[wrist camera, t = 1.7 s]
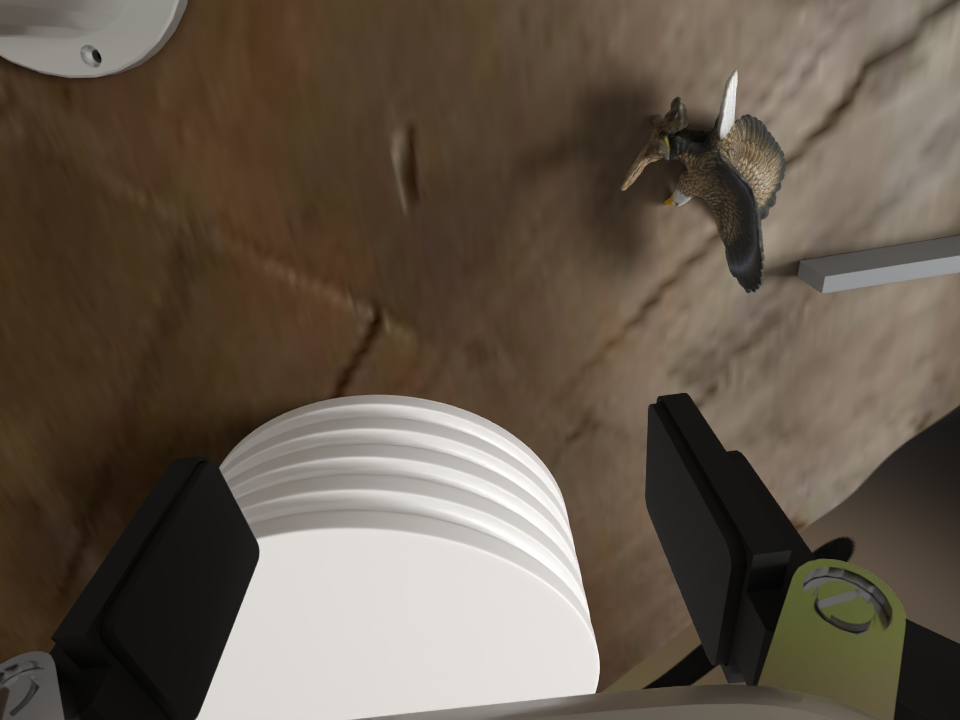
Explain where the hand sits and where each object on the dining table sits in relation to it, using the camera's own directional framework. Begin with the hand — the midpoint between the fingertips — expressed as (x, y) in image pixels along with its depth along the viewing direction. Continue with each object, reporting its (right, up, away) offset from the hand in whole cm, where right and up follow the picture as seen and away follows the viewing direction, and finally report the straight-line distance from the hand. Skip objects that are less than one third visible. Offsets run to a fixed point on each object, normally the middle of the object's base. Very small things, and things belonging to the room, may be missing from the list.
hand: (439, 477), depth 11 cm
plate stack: (-6, -12, +31) cm, 33 cm away
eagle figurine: (+13, +13, +17) cm, 25 cm away
